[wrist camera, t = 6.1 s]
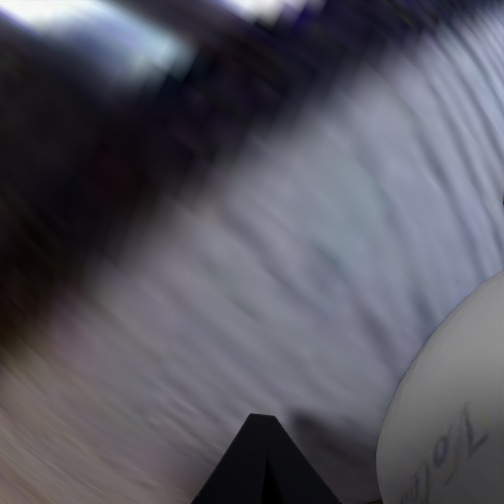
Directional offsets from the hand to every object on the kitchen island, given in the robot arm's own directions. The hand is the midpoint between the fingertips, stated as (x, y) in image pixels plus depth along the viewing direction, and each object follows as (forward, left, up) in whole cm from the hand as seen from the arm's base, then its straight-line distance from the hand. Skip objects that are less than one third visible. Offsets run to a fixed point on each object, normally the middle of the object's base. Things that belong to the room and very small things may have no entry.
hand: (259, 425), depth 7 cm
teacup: (0, -9, -2) cm, 10 cm away
